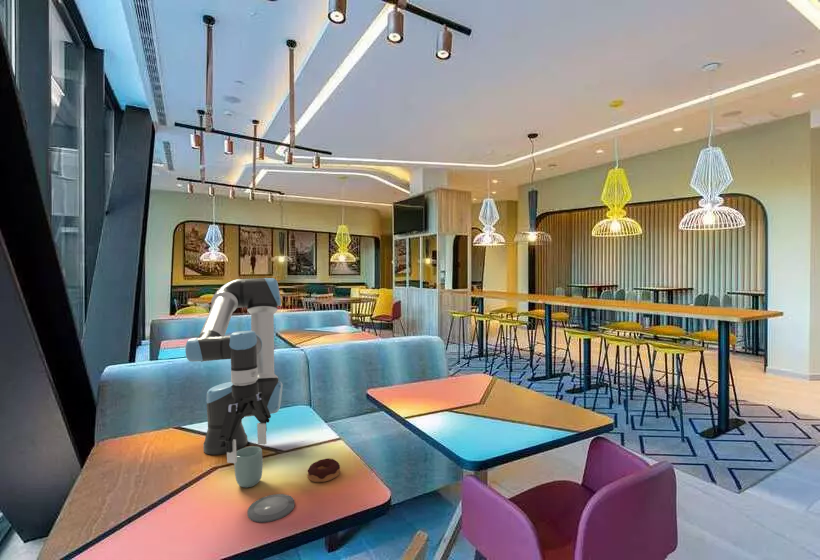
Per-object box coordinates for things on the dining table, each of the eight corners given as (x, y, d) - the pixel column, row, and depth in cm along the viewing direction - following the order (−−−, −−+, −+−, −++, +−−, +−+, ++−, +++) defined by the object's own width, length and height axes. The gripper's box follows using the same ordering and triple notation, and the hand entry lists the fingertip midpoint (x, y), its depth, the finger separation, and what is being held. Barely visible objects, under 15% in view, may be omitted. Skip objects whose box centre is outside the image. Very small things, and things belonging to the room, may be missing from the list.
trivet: (237, 518, 106) (237, 515, 106) (266, 494, 117) (266, 491, 117) (277, 525, 102) (277, 521, 102) (303, 499, 114) (302, 496, 114)
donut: (310, 487, 120) (309, 474, 120) (305, 473, 129) (304, 461, 129) (343, 479, 124) (343, 466, 124) (336, 466, 133) (335, 454, 133)
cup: (253, 491, 119) (252, 457, 119) (230, 490, 120) (228, 456, 120) (268, 478, 127) (266, 446, 126) (245, 477, 128) (244, 445, 128)
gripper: (225, 394, 110) (228, 472, 110) (280, 373, 134) (282, 437, 134) (203, 393, 112) (206, 470, 112) (260, 372, 136) (263, 436, 136)
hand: (247, 452), depth 123 cm, fingers open, 13 cm apart
